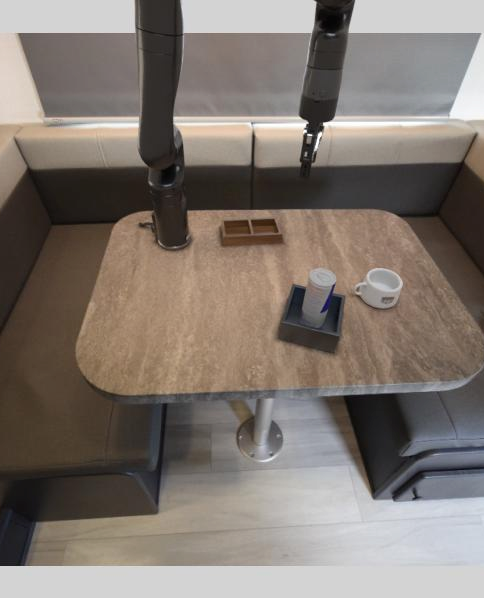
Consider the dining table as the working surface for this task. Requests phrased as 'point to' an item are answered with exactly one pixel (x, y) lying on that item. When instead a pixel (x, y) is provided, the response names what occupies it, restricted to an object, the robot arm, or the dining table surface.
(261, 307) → the dining table surface
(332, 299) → the dark gray square box
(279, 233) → the wooden divided tray
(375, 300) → the mug
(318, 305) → the beverage can
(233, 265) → the dining table surface
